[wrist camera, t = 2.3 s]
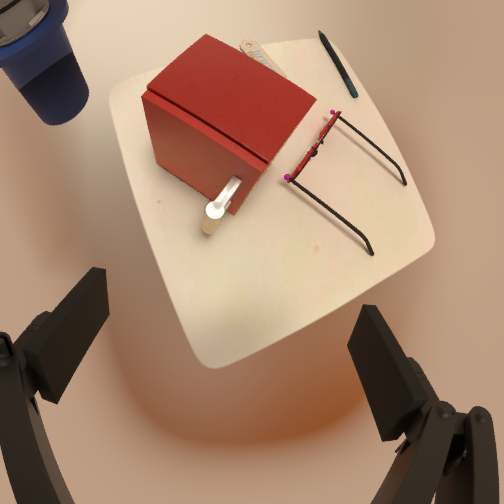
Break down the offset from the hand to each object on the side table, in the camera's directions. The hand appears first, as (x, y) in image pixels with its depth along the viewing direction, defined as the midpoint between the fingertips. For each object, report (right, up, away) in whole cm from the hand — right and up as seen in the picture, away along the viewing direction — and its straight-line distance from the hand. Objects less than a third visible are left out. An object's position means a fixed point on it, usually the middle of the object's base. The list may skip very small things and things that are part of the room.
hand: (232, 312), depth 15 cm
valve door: (-7, +9, +22) cm, 24 cm away
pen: (+10, +40, +30) cm, 51 cm away
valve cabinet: (-4, +15, +23) cm, 28 cm away
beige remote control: (+3, +32, +26) cm, 42 cm away
